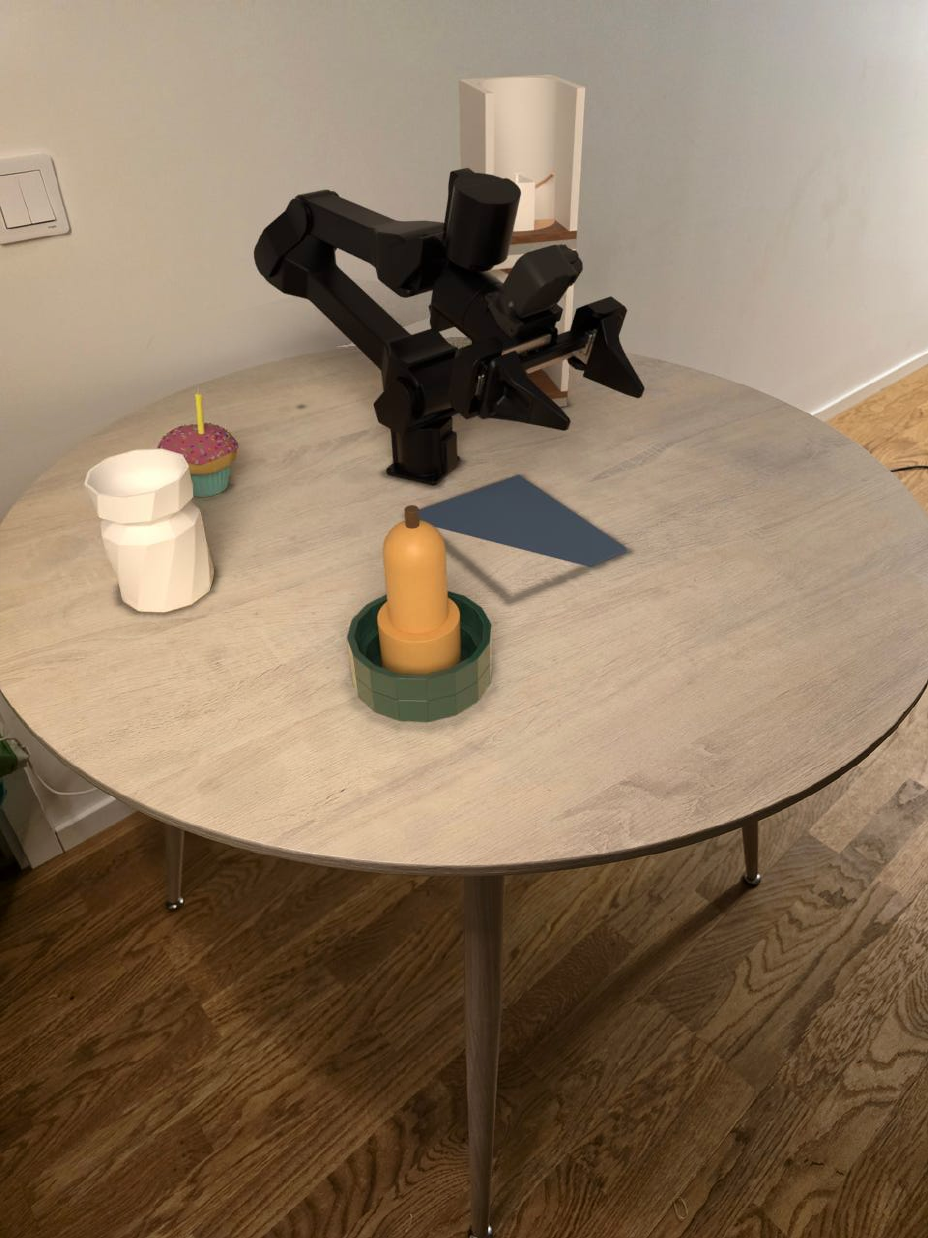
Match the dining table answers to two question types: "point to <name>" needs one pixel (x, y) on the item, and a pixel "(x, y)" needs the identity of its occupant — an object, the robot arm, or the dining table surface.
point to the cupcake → (203, 452)
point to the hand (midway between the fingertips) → (606, 409)
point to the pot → (421, 692)
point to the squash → (417, 601)
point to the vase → (151, 528)
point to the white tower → (530, 171)
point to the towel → (524, 522)
